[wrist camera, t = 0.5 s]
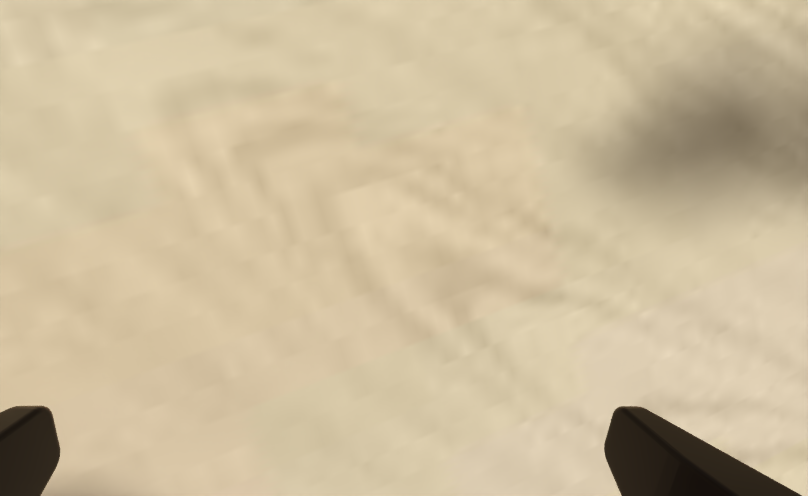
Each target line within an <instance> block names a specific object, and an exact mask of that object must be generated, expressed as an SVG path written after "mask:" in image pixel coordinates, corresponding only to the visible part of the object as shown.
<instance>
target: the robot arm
mask: <svg viewBox="0 0 808 496" xmlns="http://www.w3.org/2000/svg"><path fill="white" fill-rule="evenodd" d="M604 450H605V456H606V460H607V462H608V465H609V467H610V469H611V472H612V474H613V476H614V479H615V481H616V483H617V486H618V488H619V491H620V493H621V495H622V496H802V495H800V494H798V493H796V492H795V491H793V490H791V489H789V488H787V487H786V486H784V485H782V484H780V483H778V482H776V481H775V480H773V479H771V478H769V477H767V476H766V475H764V474H762V473H760V472H758V471H757V470H755V469H753V468H751V467H749V466H748V465H746V464H744V463H742V462H740V461H739V460H737V459H735V458H733V457H731V456H730V455H728V454H726V453H724V452H722V451H721V450H719V449H717V448H715V447H713V446H712V445H710V444H708V443H706V442H704V441H703V440H701V439H699V438H697V437H695V436H694V435H692V434H690V433H688V432H686V431H685V430H683V429H681V428H679V427H677V426H676V425H674V424H672V423H670V422H668V421H667V420H665V419H663V418H661V417H659V416H658V415H656V414H654V413H652V412H650V411H649V410H647V409H645V408H643V407H637V406H621V407H618V408H617V409H616V410H615V411H614V413H613V416H612V419H611V423H610V426H609V430H608V433H607V437H606V440H605V447H604ZM59 457H60V446H59V441H58V437H57V433H56V428H55V424H54V419H53V415H52V412H51V411H50V410H49V408H47V407H44V406H16V407H12V408H10V409H7V410H5V411H3V412H1V413H0V496H41V494H42V492H43V490H44V488H45V487H46V485H47V483H48V481H49V479H50V478H51V476H52V474H53V472H54V470H55V469H56V466H57V464H58V461H59Z"/></svg>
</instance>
